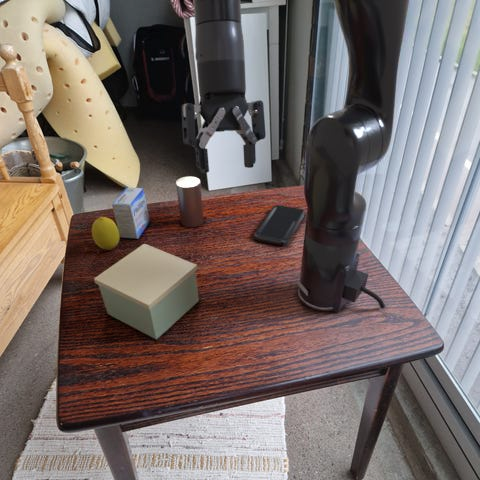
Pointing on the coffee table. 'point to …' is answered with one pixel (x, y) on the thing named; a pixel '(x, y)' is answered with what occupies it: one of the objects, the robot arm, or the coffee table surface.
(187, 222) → the tea tin
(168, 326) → the storage box
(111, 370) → the coffee table surface
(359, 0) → the robot arm
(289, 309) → the coffee table surface
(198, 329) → the coffee table surface
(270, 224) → the phone
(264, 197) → the coffee table surface
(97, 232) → the lemon
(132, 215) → the medicine box
